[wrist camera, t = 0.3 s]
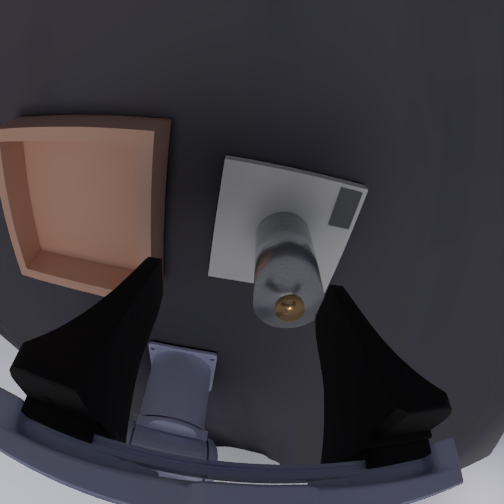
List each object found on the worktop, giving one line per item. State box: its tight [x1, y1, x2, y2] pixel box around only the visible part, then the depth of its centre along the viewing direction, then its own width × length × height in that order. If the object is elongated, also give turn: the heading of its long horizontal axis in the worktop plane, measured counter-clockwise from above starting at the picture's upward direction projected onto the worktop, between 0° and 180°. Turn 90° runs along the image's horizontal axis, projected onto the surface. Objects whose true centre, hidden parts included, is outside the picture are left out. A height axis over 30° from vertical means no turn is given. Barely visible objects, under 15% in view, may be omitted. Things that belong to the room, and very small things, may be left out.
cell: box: [253, 212, 325, 328], centre depth 19 cm, size 4×4×8 cm
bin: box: [0, 115, 171, 297], centre depth 20 cm, size 14×14×4 cm
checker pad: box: [208, 155, 368, 293], centre depth 22 cm, size 10×10×1 cm
